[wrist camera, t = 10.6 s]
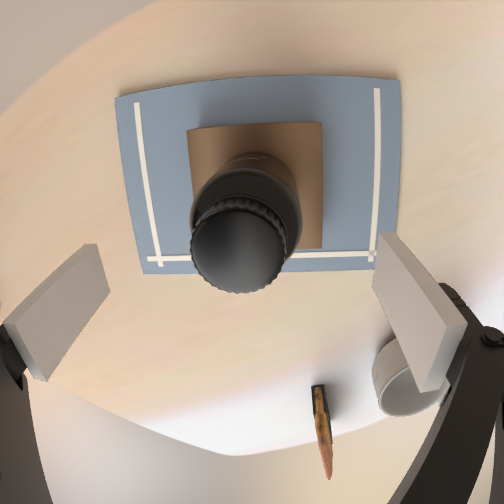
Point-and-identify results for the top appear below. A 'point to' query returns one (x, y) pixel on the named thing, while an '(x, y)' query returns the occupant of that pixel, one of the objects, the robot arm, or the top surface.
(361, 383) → the top surface
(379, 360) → the teacup
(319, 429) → the ammunition clip
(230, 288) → the supplement bottle
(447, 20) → the top surface
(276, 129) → the walnut plinth
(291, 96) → the board
